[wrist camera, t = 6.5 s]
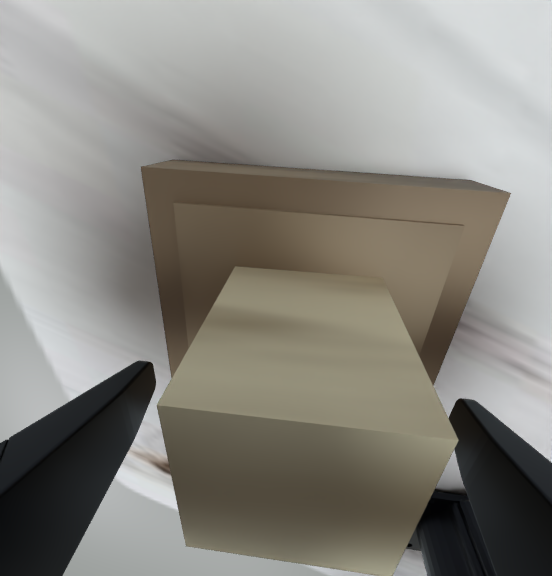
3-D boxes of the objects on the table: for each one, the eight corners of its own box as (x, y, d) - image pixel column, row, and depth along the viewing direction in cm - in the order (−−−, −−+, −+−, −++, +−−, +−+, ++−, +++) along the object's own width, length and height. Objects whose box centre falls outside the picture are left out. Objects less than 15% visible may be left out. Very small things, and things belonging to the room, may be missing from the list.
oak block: (357, 387, 12) (391, 577, 7) (238, 374, 13) (186, 546, 8) (382, 277, 10) (458, 440, 5) (235, 266, 11) (157, 405, 5)
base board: (397, 398, 16) (411, 444, 14) (194, 374, 17) (175, 413, 14) (470, 180, 11) (514, 194, 9) (173, 159, 12) (138, 167, 9)
